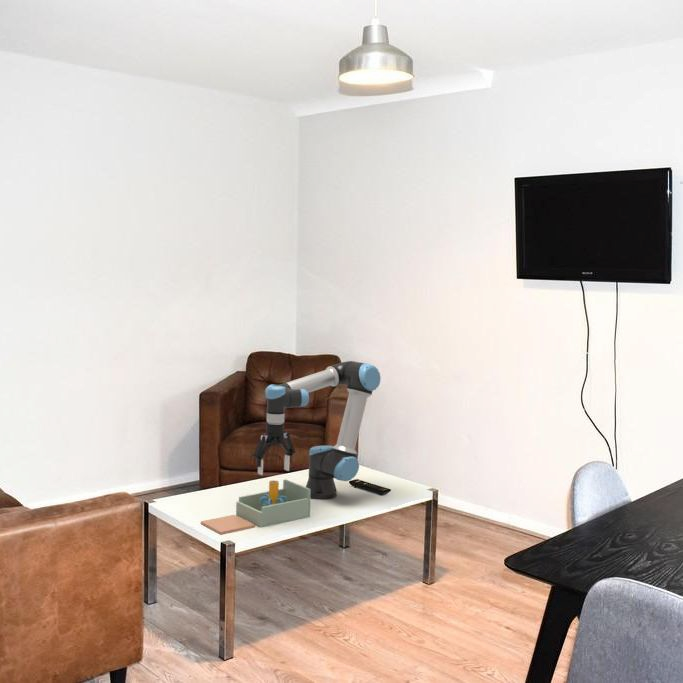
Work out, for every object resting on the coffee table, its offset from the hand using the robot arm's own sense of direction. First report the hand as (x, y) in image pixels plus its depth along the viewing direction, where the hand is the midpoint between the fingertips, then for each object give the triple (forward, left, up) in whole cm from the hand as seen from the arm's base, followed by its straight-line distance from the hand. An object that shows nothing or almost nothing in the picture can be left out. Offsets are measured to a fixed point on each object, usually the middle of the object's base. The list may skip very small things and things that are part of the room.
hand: (273, 472), depth 347 cm
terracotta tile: (+22, 0, -19) cm, 29 cm away
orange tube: (0, 0, -19) cm, 19 cm away
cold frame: (0, 0, -19) cm, 19 cm away
